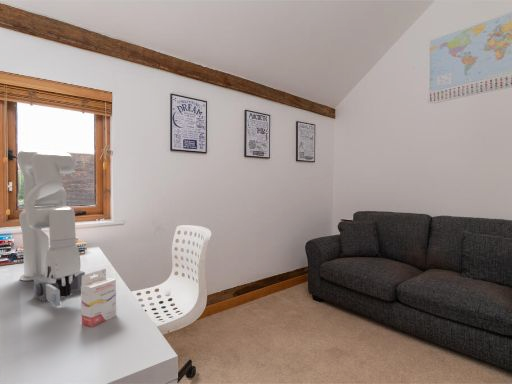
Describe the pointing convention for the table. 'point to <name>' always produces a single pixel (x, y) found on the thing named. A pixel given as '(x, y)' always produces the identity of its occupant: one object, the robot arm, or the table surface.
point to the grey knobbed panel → (40, 286)
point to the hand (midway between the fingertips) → (65, 295)
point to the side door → (52, 294)
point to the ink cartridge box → (97, 298)
